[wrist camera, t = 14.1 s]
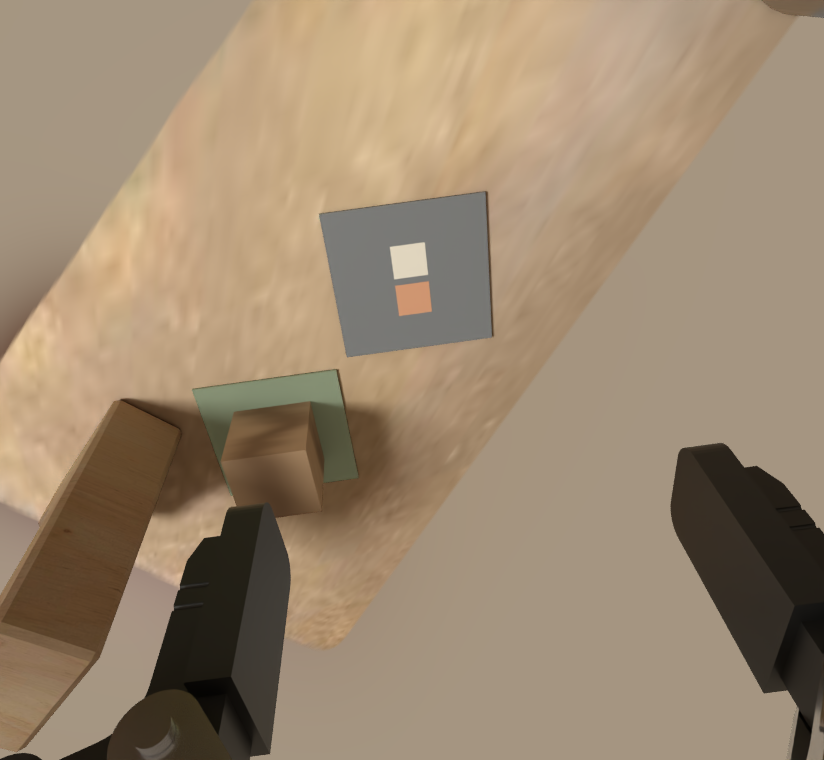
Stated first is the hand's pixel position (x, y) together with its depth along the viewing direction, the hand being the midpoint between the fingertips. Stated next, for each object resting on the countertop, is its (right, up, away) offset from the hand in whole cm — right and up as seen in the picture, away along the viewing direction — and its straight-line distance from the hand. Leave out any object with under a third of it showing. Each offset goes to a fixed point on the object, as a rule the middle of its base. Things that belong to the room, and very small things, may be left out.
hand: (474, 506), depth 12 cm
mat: (-12, -2, +38) cm, 40 cm away
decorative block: (-25, -4, +38) cm, 46 cm away
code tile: (-1, +10, +32) cm, 33 cm away
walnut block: (-12, -2, +38) cm, 40 cm away
